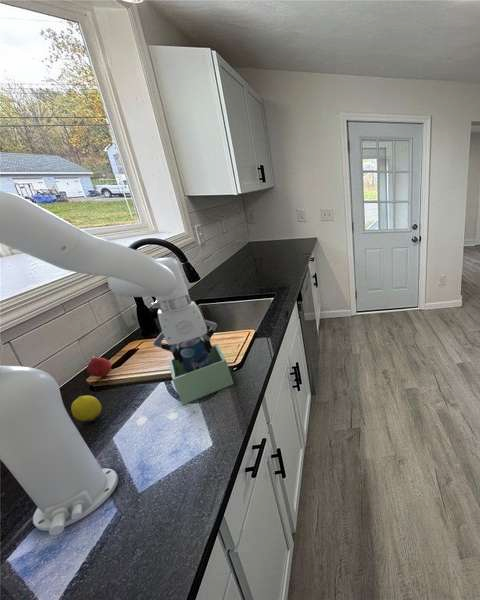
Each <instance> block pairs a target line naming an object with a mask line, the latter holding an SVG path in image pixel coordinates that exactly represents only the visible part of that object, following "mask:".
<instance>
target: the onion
mask: <svg viewBox="0 0 480 600" xmlns="http://www.w3.org/2000/svg"><path fill="white" fill-rule="evenodd" d="M111 369H112V363H111V362H110V360H108V359H106V358H104V357H97V355H93V356H92V357H91V360H90V361H89V362H88V364H87V367H86V370H87V373H88V374H90V376H92V377H97V378H104V377H106V376H107V375H108V374H109V372H110V371H111ZM107 373H108V374H107Z"/></svg>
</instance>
